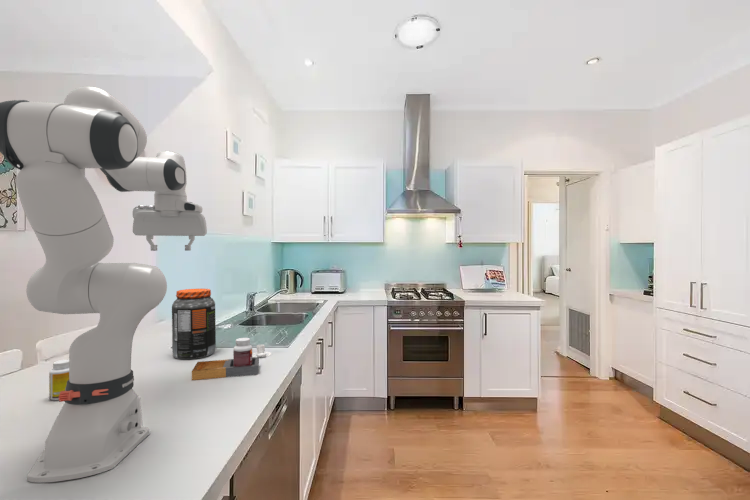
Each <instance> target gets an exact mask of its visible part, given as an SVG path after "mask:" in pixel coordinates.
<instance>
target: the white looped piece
mask: <svg viewBox="0 0 750 500" xmlns="http://www.w3.org/2000/svg"><path fill="white" fill-rule="evenodd" d="M265 348H266V346H265V344H257V345H256V352H252V358H254V357H259V358H266V357H269V356H271V355H272V352H270V351H265Z"/></svg>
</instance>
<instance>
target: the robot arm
mask: <svg viewBox="0 0 750 500" xmlns="http://www.w3.org/2000/svg"><path fill="white" fill-rule="evenodd" d="M147 137H148V135H147V133H146V129H145V127H144V126H143V124H142V122H140V120H139V119H138V118H137V117H136V115H135V114H134V113H132V111H131V110H130V109H129V108H128V107H127V106H126V105H125V104H124V103H122V102H121V101H120V100H119V99H118V98H116V97H114V96H113V95H112V94H110V93H109V92H108V91H106V90H104V89H102V88H101V87H100V88H99V87H95V86H88V85H86V86H80V87H77V88H75V89H72V90H71V91H70V92H69V93H67V95H66V96H65V99H64V102H63V103H60V102H51V101H49V102H47V101H30V100H29V101H28V100H26V99H14V100H13V99H12V100H6V101H1V102H0V154H1V155H3V157H4V158H5V160H6V161H7V162H8V163H9V165H11V166H12V167H14V168H15V169H16V170H19V172H18V173H17V175H16V179H15V183H16V188H17V193H18V196H19V197H18V198H19V200H20V203H21V204H20V205H21V206H22V209H23V211H24V215H25V216H26V218H27V220H28V222H29V225H30V227H31V228H32V230H33V232H34V234H35V236H36V238H37V239H38V240H37V241H38V242H39V244H40V246H41V249H42V250H43V253H44V255H45V263H44V265H43V266H41V267H40V268H38V269H37V270H35V272H33V274H32V275H31V276H30V278H29V279H28V281H27V284H26V290H25V291H26V297H27V300H28V302H29V303H30V305H31V306H32V308H34V309H35V310H37V311H39V312H43V313H44V312H45V313H50V314H51V313H52V314H58V315H59V314H60V315H76V314H77V315H81V314H82V315H83V314H99V321H98V323H97V325H96V327H94V328H91V329H89V330H87V331H85V332H84V333H82V334H80V335H78V336H77V337H76V338H75V339H74V340H73V341H72V342H71V344H70V346H69V349H68V360H69V380H68V381H67V385H66V388H65V391H61V392H60V395H59V396H60V397H59V400H58V401H59V402H60V403H62V402H64V403H63V405H62V407H61V409H60V411H59V413H58V415H57V417H56V418H55V420H54V422H53V424H52V427H51V429H50V431H49V433H48V435H47V436H46V440H45V441H44V442H45V444H44V450H43V451H42V452H41V454H40V455H39V457H38V458H37V460H36V461H35V463H34V464H33V466H32V468H31V469H30V470H29V472H28V473H27V476H26V481H27V482H31V483H53V482H54V483H55V482H56V483H57V482H62V481H71V480H76V479H80V478H85V477H89V476H95V475H98V474H101V473H104V472H107V471H110V470H112V469H113V468H115V467H116V466H117V465H118V464H119V463H121V461H122V460H123V459H125V457H127V456H128V455H129V454H130V453H131V452H133V450H134V449H136V447H137V446H138V445H139V444H141V442H143V440H145V439H146V438H147V437H148V436H149V435H150V433H151V431H150V430H151V429H150V427H147V426H144V425H143V413H142V412H143V411H142V410H143V409H142V400H141V396H140V395H138V394H137V393H136V392H135V391H134V389H133V388H134V383H135V375H134V371H133V370H132V351H133V340H134V336H135V333H136V330H137V328H138V326H139V324H140V322H141V321H142V320H143V319H144V318H145V317H146V315H147V314H149V312H151V311H152V310H153V309H155V308H156V307H158V306H159V305H160V304H161V302H162V301H163V300H164V299H165V297H166V294H167V289H168V285H167V284H168V283H167V279H166V277H165V274H164V273H163V271H162V270H161V269H160V268H159V267H157V266H154V265H149V264H143V263H139V262H138V263H137V262H101V261H102V260H103V259H105V258H106V257H107V256H108V255H109V254H110V252H111V251H112V248H113V246H114V240H115V239H114V235H113V232H112V230H111V227H110V225H109V222H108V219H107V217H106V214H105V212H104V209H103V207H102V204H101V202H100V200H99V198H98V195H97V194H96V191H95V190H94V188H93V186H92V185H91V183H90V182H89V180H88V178H87V177H86V169H99V170H100V171H101V172H102V173H103V174H104V175H105V177H106V179H107V181H108V183H109V184H110V186H111V187H113V188H114V189H115V190H116V191H118V192H121V193H125V192H154V194H153V196H154V205H142V204H140V205H137V206H135V207H134V208H133V209H132V217H133V222H132V234H133V235H135V236H145V238H146V241H147V242H148V244H149V245H150V251H151V252H154V251H156V252H157V251H158V244H155V243H154V241H153V240H154V236H156V237H157V236H162V237H163V236H165V237H167V236H168V237H169V236H171V237H172V236H173V237H180V236H181V237H183V236H184V237H185V236H186V237H188V240H189V242H188V243H187V244H184V251H191V250H192V245H193V243H194V241H195V240H196V237H204V236H206V235H207V233H208V228H207V221H206V217H205V215H204V214H202V213H203V207H202V206H201V205H199V204H196V203H193V202H191V201H188V198H187V192H186V186H187V168H186V163H185V158H184V157H183V155H182V154H179V153H177V152H174V151H170V150H161V151H158V152H157V153H156V155H155V157H154V156H151V157H150V156H141V155H142V154H143V153H144V151H145V150H146V148H147V147H146V146H147V142H148V138H147ZM195 236H196V237H195Z"/></svg>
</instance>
